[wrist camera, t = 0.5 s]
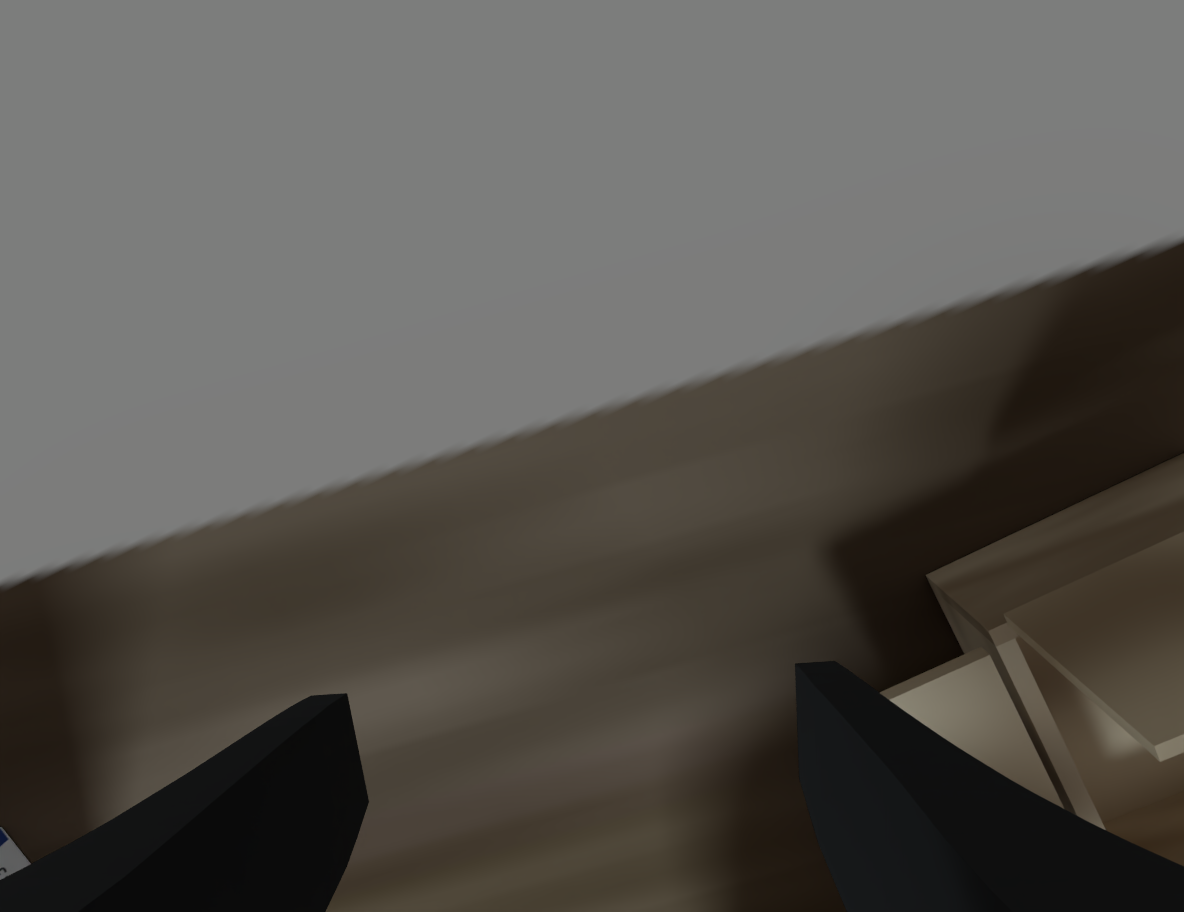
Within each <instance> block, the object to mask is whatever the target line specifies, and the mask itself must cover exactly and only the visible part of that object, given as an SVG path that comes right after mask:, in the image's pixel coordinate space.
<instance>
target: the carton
mask: <svg viewBox="0 0 1184 912" xmlns="http://www.w3.org/2000/svg"><path fill="white" fill-rule="evenodd" d="M1182 532H1184V453H1182V454H1180V455H1178V456H1176V457H1174V458H1172V459H1169V460H1167V461H1165V462H1163V463H1161V464H1159V465H1157V466H1155V467H1153V468H1150V469H1148V470H1146V471H1144V472H1142V473H1140V474H1138V475H1136V476H1134V477H1131V478H1129V479H1127V480H1125V481H1123V482H1121V483H1119V484H1117V485H1115V486H1112V487H1110V488H1108V489H1106V490H1104V491H1102V492H1100V493H1098V494H1096V495H1093V496H1091V497H1089V498H1087V499H1085V500H1083V501H1081V502H1079V503H1077V504H1074V505H1072V506H1070V507H1068V508H1066V509H1064V510H1062V511H1060V512H1058V513H1056V514H1053V515H1051V516H1049V517H1047V518H1045V519H1043V520H1041V521H1039V522H1037V523H1034V524H1032V525H1030V526H1028V527H1026V528H1024V529H1022V530H1020V531H1018V532H1015V533H1013V534H1011V535H1009V536H1007V537H1005V538H1003V539H1001V540H999V541H996V542H994V543H992V544H990V545H988V546H986V547H984V548H982V549H980V550H977V551H975V552H973V553H971V554H969V555H967V556H965V557H963V558H961V559H958V560H956V561H954V562H952V563H950V564H948V565H946V566H944V567H942V568H939V569H937V570H935V571H933V572H931V573H929V574H927V575H926V577H927V579H928V582H929V584H930V586H931V588H932V590H933V592H934V594H935V596H936V598H937V600H938V602H939V604H940V606H941V608H942V610H943V612H944V614H945V616H946V618H947V620H948V622H949V624H950V626H951V628H952V630H953V632H954V634H955V636H956V638H957V640H958V642H959V644H960V646H961V648H962V650H963V652H964V655H962V656H959V657H957V658H955V659H953V660H951V661H948V662H946V663H944V664H942V665H939V666H937V667H935V668H933V669H931V670H928V671H926V672H924V673H922V674H920V675H917V676H915V677H913V678H911V679H908V680H906V681H904V682H902V683H900V684H897V685H895V686H893V687H891V688H888V689H886V690H884V691H882V692H880V694H882V695H883V696H885V697H886V698H887V699H889V700H890V701H891V702H893V703H894V704H896V705H897V706H898V707H900V708H901V709H903V710H904V711H905V712H907V713H908V714H910V715H911V716H913V717H914V718H915V719H917V720H918V721H920V722H921V723H923V724H924V725H925V726H927V727H928V728H930V729H931V730H933V731H934V732H936V733H937V734H939V735H940V736H942V737H943V738H945V739H946V740H948V741H949V742H951V743H952V744H954V745H955V746H957V747H959V748H960V749H962V750H963V751H965V752H966V753H968V754H970V755H971V756H973V757H974V758H976V759H978V760H979V761H981V762H983V763H984V764H986V765H987V766H989V767H991V768H992V769H994V770H996V771H997V772H999V773H1000V774H1002V775H1004V776H1005V777H1007V778H1009V779H1010V780H1012V781H1014V782H1016V783H1017V784H1019V785H1021V786H1023V787H1024V788H1026V789H1028V790H1030V791H1031V792H1033V793H1035V794H1037V795H1039V796H1041V797H1043V798H1045V799H1046V800H1048V801H1050V802H1052V803H1054V804H1056V805H1058V806H1060V807H1062V808H1063V809H1065V810H1067V811H1069V812H1071V813H1073V814H1075V815H1077V816H1079V817H1080V818H1082V819H1084V820H1086V821H1088V822H1090V823H1092V824H1094V825H1096V826H1098V827H1100V828H1102V829H1104V830H1106V831H1108V832H1110V833H1112V834H1114V835H1116V836H1119V837H1121V838H1123V839H1125V840H1127V841H1129V842H1131V843H1133V844H1136V845H1138V846H1140V847H1142V848H1144V849H1147V850H1149V851H1151V852H1153V853H1155V854H1158V855H1160V856H1162V857H1164V858H1167V859H1169V860H1171V861H1173V862H1175V863H1178V864H1180V865H1182V866H1184V752H1183V753H1181V754H1178V755H1176V756H1174V757H1171V758H1169V759H1166V760H1164V761H1161V762H1160V761H1159V760H1158V759H1156V758H1155V757H1154V756H1153V755H1152V754H1151V753H1150V752H1149V751H1148V750H1146V749H1145V748H1144V747H1143V746H1142V745H1141V744H1140V743H1139V742H1138V741H1136V740H1135V739H1134V738H1133V737H1132V736H1131V735H1130V734H1129V733H1127V732H1126V731H1125V730H1124V729H1123V728H1122V727H1121V726H1120V725H1119V724H1117V723H1116V722H1115V721H1114V720H1113V719H1112V718H1111V717H1110V716H1108V715H1107V714H1106V713H1105V712H1104V711H1103V710H1102V709H1101V708H1100V707H1098V706H1097V705H1096V704H1095V703H1094V702H1093V701H1092V700H1091V699H1089V698H1088V697H1087V696H1086V695H1085V694H1084V693H1083V692H1082V691H1081V690H1079V689H1078V688H1077V687H1076V686H1075V685H1074V684H1073V683H1072V682H1070V681H1069V680H1068V679H1067V678H1066V677H1065V676H1064V675H1063V674H1062V673H1060V672H1059V671H1058V670H1057V669H1056V668H1055V667H1054V666H1053V665H1051V664H1050V663H1049V662H1048V661H1047V660H1046V659H1045V658H1044V657H1043V656H1041V655H1040V654H1039V653H1038V652H1037V651H1036V650H1035V649H1034V648H1033V647H1031V646H1030V645H1029V644H1028V643H1027V642H1026V641H1025V640H1024V639H1022V638H1021V637H1020V636H1019V635H1018V634H1017V633H1016V632H1015V631H1014V630H1012V629H1011V628H1010V627H1009V626H1008V623H1007V621H1006V619H1005V617H1004V613H1006V612H1008V611H1011V610H1013V609H1015V608H1017V607H1019V606H1022V605H1024V604H1026V603H1028V602H1030V601H1032V600H1035V599H1037V598H1039V597H1041V596H1043V595H1046V594H1048V593H1050V592H1052V591H1054V590H1057V589H1059V588H1061V587H1063V586H1065V585H1068V584H1070V583H1072V582H1074V581H1076V580H1079V579H1081V578H1083V577H1085V576H1087V575H1089V574H1092V573H1094V572H1096V571H1098V570H1100V569H1103V568H1105V567H1107V566H1109V565H1111V564H1114V563H1116V562H1118V561H1120V560H1122V559H1125V558H1127V557H1129V556H1131V555H1133V554H1136V553H1138V552H1140V551H1142V550H1144V549H1146V548H1149V547H1151V546H1153V545H1155V544H1157V543H1160V542H1162V541H1164V540H1166V539H1168V538H1171V537H1173V536H1175V535H1177V534H1179V533H1182Z"/></svg>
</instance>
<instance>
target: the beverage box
mask: <svg viewBox="0 0 1184 912" xmlns="http://www.w3.org/2000/svg"><path fill="white" fill-rule="evenodd" d="M30 864H31V863H30V862H29V861H28V859H27V858H26V857H25V856H24V854H23V853H22V852H21V851H20V849H19V848H18V847H17V846H16V844H15V843H14V842H13V841H12V839H11V838H10V837H9V836H8V834H7V833H6V832H5V830H4V829H3V828H2V827H0V880H1V879H3V878H5V877H7V876H9V875H11V874H13V873H15V872H17V871H19V870H21V869H23V868H24V867H26V866H28V865H30Z"/></svg>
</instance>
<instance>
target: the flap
mask: <svg viewBox="0 0 1184 912" xmlns="http://www.w3.org/2000/svg"><path fill="white" fill-rule="evenodd" d="M1004 617H1005V619H1006V621H1007V623H1008V626H1009V627H1010V628H1011V629H1012V630H1014V631H1015V632H1016V633H1017V634H1018V635H1019V636H1020V637H1021V638H1022V639H1024V640H1025V641H1026V642H1027V643H1028V644H1029V645H1030V646H1031V647H1033V648H1034V649H1035V650H1036V651H1037V652H1038V653H1039V654H1040V655H1041V656H1043V657H1044V658H1045V659H1046V660H1047V661H1048V662H1049V663H1050V664H1051V665H1053V666H1054V667H1055V668H1056V669H1057V670H1058V671H1059V672H1060V673H1062V674H1063V675H1064V676H1065V677H1066V678H1067V679H1068V680H1069V681H1070V682H1072V683H1073V684H1074V685H1075V686H1076V687H1077V688H1078V689H1079V690H1081V691H1082V692H1083V693H1084V694H1085V695H1086V696H1087V697H1088V698H1089V699H1091V700H1092V701H1093V702H1094V703H1095V704H1096V705H1097V706H1098V707H1100V708H1101V709H1102V710H1103V711H1104V712H1105V713H1106V714H1107V715H1108V716H1110V717H1111V718H1112V719H1113V720H1114V721H1115V722H1116V723H1117V724H1119V725H1120V726H1121V727H1122V728H1123V729H1124V730H1125V731H1126V732H1127V733H1129V734H1130V735H1131V736H1132V737H1133V738H1134V739H1135V740H1136V741H1138V742H1139V743H1140V744H1141V745H1142V746H1143V747H1144V748H1145V749H1146V750H1148V751H1149V752H1150V753H1151V754H1152V755H1153V756H1154V757H1155V758H1156V759H1158V760H1159V761H1160V762H1161V761H1164V760H1166V759H1169V758H1171V757H1174V756H1176V755H1178V754H1181V753H1183V752H1184V532H1182V533H1179V534H1177V535H1175V536H1173V537H1171V538H1168V539H1166V540H1164V541H1162V542H1160V543H1157V544H1155V545H1153V546H1151V547H1149V548H1146V549H1144V550H1142V551H1140V552H1138V553H1136V554H1133V555H1131V556H1129V557H1127V558H1125V559H1122V560H1120V561H1118V562H1116V563H1114V564H1111V565H1109V566H1107V567H1105V568H1103V569H1100V570H1098V571H1096V572H1094V573H1092V574H1089V575H1087V576H1085V577H1083V578H1081V579H1079V580H1076V581H1074V582H1072V583H1070V584H1068V585H1065V586H1063V587H1061V588H1059V589H1057V590H1054V591H1052V592H1050V593H1048V594H1046V595H1043V596H1041V597H1039V598H1037V599H1035V600H1032V601H1030V602H1028V603H1026V604H1024V605H1022V606H1019V607H1017V608H1015V609H1013V610H1011V611H1008V612H1006V613H1004Z"/></svg>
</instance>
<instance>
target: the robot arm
mask: <svg viewBox="0 0 1184 912" xmlns="http://www.w3.org/2000/svg"><path fill="white" fill-rule="evenodd" d="M795 675H796V702H797V730H798V758H799V779H800V782H801V786H802V789H803V793H804V796H805V800H806V803H807V807H808V810H809V814H810V817H811V820H812V824H813V827H814V830H815V834H816V837H817V840H818V843H819V846H820V848H821V851H822V853H823V856H824V858H825V861H826V863H827V865H828V868H829V870H830V872H831V875H832V877H833V880H834V882H835V884H836V887H837V889H838V892H839V894H840V896H841V899H842V901H843V903H844V906H845V908H846V911H847V912H1184V866H1182V865H1180V864H1178V863H1175V862H1173V861H1171V860H1169V859H1167V858H1164V857H1162V856H1160V855H1158V854H1155V853H1153V852H1151V851H1149V850H1147V849H1144V848H1142V847H1140V846H1138V845H1136V844H1133V843H1131V842H1129V841H1127V840H1125V839H1123V838H1121V837H1119V836H1116V835H1114V834H1112V833H1110V832H1108V831H1106V830H1104V829H1102V828H1100V827H1098V826H1096V825H1094V824H1092V823H1090V822H1088V821H1086V820H1084V819H1082V818H1080V817H1079V816H1077V815H1075V814H1073V813H1071V812H1069V811H1067V810H1065V809H1063V808H1062V807H1060V806H1058V805H1056V804H1054V803H1052V802H1050V801H1048V800H1046V799H1045V798H1043V797H1041V796H1039V795H1037V794H1035V793H1033V792H1031V791H1030V790H1028V789H1026V788H1024V787H1023V786H1021V785H1019V784H1017V783H1016V782H1014V781H1012V780H1010V779H1009V778H1007V777H1005V776H1004V775H1002V774H1000V773H999V772H997V771H996V770H994V769H992V768H991V767H989V766H987V765H986V764H984V763H983V762H981V761H979V760H978V759H976V758H974V757H973V756H971V755H970V754H968V753H966V752H965V751H963V750H962V749H960V748H959V747H957V746H955V745H954V744H952V743H951V742H949V741H948V740H946V739H945V738H943V737H942V736H940V735H939V734H937V733H936V732H934V731H933V730H931V729H930V728H928V727H927V726H925V725H924V724H923V723H921V722H920V721H918V720H917V719H915V718H914V717H913V716H911V715H910V714H908V713H907V712H905V711H904V710H903V709H901V708H900V707H898V706H897V705H896V704H894V703H893V702H891V701H890V700H889V699H887V698H886V697H885V696H883V695H882V694H880V693H879V692H878V691H876V690H875V689H874V688H872V687H871V686H870V685H868V684H867V683H865V682H864V681H863V680H861V679H860V678H859V677H857V676H856V675H855V674H853V673H852V672H850V671H849V670H848V669H846V668H845V667H843V666H842V665H840V664H839V663H837V662H836V661H828V662H813V663H798V664H795ZM368 803H369V800H368V795H367V790H366V785H365V780H364V775H363V770H362V765H361V760H360V755H359V750H358V745H357V740H356V735H355V730H354V725H353V720H352V715H351V710H350V705H349V700H348V696H347V693H345V694H330V695H314V696H310V697H308V698H306V699H304V700H302V701H300V702H298V703H296V704H295V705H293V706H291V707H289V708H288V709H286V710H285V711H283V712H281V713H280V714H278V715H276V716H275V717H273V718H272V719H270V720H269V721H267V722H265V723H264V724H262V725H261V726H259V727H258V728H256V729H255V730H253V731H252V732H250V733H248V734H247V735H245V736H244V737H242V738H241V739H239V740H238V741H236V742H235V743H233V744H232V745H230V746H229V747H227V748H225V749H224V750H222V751H221V752H219V753H218V754H216V755H215V756H213V757H212V758H210V759H209V760H207V761H206V762H204V763H202V764H201V765H199V766H198V767H196V768H195V769H193V770H192V771H190V772H189V773H187V774H185V775H184V776H182V777H181V778H179V779H177V780H176V781H174V782H172V783H171V784H169V785H168V786H166V787H164V788H163V789H161V790H159V791H158V792H156V793H154V794H153V795H151V796H150V797H148V798H146V799H145V800H143V801H141V802H140V803H138V804H137V805H135V806H133V807H132V808H130V809H128V810H127V811H125V812H124V813H122V814H120V815H119V816H117V817H115V818H114V819H112V820H110V821H109V822H107V823H105V824H103V825H102V826H100V827H98V828H96V829H95V830H93V831H91V832H89V833H88V834H86V835H84V836H82V837H80V838H79V839H77V840H75V841H73V842H71V843H70V844H68V845H66V846H64V847H62V848H60V849H58V850H56V851H55V852H53V853H51V854H49V855H47V856H45V857H43V858H41V859H40V860H38V861H36V862H34V863H32V864H30V865H28V866H26V867H24V868H23V869H21V870H19V871H17V872H15V873H13V874H11V875H9V876H7V877H5V878H3V879H1V880H0V912H325V911H326V909H327V907H328V905H329V903H330V901H331V899H332V897H333V895H334V892H335V890H336V888H337V886H338V884H339V882H340V880H341V878H342V876H343V873H344V871H345V869H346V867H347V864H348V862H349V859H350V856H351V853H352V851H353V848H354V845H355V842H356V839H357V837H358V834H359V831H360V827H361V824H362V821H363V818H364V815H365V812H366V809H367V806H368Z"/></svg>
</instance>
